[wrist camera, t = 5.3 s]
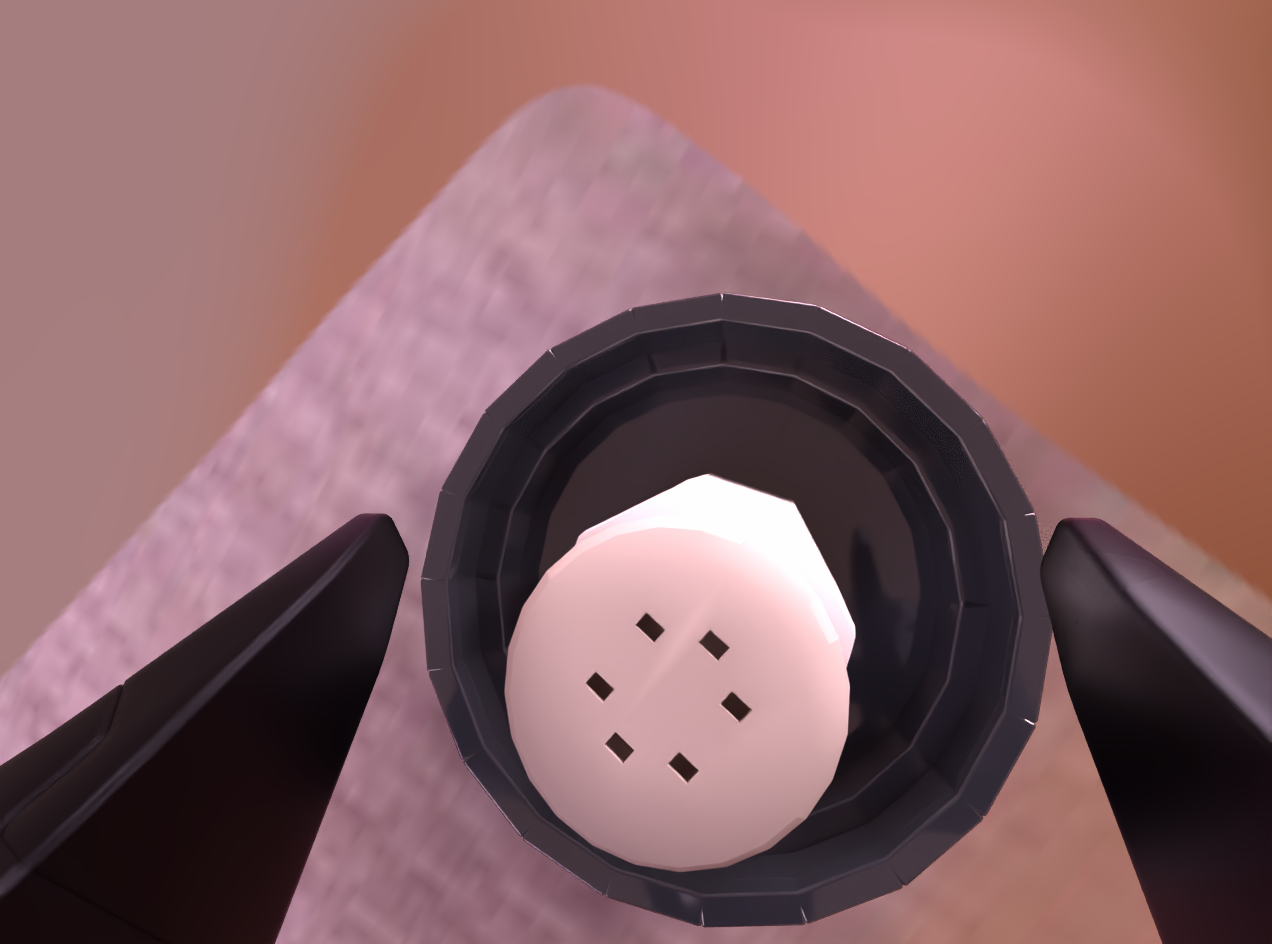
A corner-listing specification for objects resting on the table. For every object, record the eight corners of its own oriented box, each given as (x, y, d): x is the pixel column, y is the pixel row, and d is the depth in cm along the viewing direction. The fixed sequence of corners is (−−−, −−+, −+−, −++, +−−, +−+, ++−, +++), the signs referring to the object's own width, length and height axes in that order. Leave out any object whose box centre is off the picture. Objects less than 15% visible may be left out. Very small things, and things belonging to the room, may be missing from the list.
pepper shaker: (729, 748, 15) (699, 1249, 5) (565, 591, 16) (225, 705, 6) (883, 577, 15) (1225, 688, 4) (707, 428, 16) (639, 221, 5)
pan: (1021, 385, 16) (1100, 343, 12) (934, 906, 15) (991, 1019, 11) (539, 311, 18) (490, 259, 14) (441, 765, 17) (365, 824, 14)
